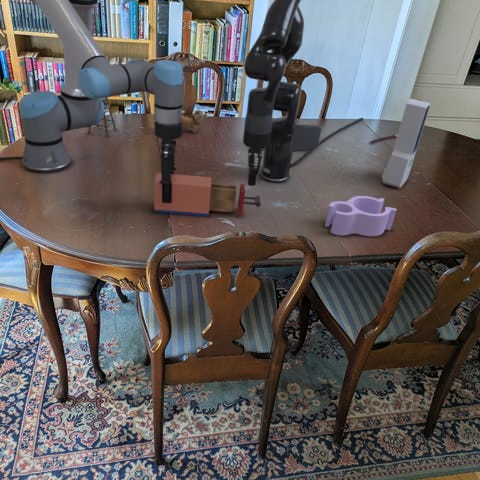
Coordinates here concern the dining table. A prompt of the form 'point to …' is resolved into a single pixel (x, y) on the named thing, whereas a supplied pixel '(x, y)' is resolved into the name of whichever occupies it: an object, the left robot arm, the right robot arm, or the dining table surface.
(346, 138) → the dining table surface
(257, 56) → the right robot arm
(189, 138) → the dining table surface
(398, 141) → the electronic device
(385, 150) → the dining table surface
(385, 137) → the sword
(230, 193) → the drawer
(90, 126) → the miniature windmill
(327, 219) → the clip
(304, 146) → the handheld gaming console
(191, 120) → the lion figurine
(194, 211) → the cabinet
